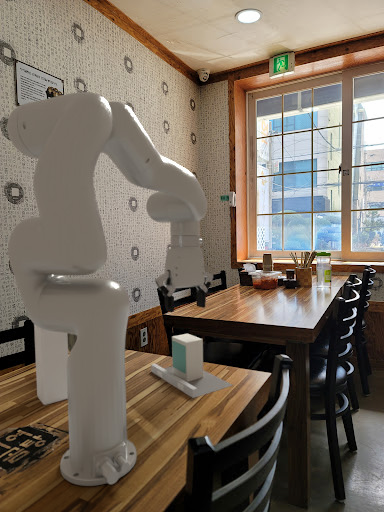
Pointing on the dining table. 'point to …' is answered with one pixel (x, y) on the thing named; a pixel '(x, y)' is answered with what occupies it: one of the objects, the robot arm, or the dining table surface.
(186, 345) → the carton
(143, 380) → the dining table surface
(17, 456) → the dining table surface
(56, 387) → the milk
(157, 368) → the shelf board
